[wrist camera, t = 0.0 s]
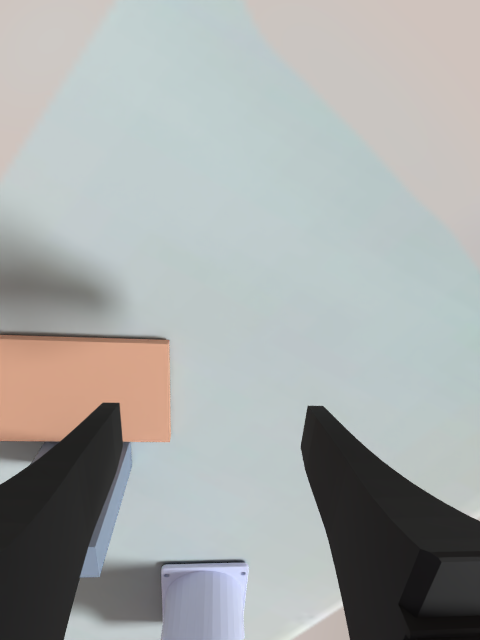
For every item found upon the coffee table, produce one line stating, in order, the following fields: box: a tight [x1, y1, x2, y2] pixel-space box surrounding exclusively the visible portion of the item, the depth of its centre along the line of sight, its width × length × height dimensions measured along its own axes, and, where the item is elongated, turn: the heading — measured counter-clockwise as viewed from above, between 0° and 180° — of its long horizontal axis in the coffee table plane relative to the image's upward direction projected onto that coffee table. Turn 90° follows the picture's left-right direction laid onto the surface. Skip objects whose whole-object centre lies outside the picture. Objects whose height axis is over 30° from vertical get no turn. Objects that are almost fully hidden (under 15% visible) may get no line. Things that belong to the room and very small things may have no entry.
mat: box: [0, 335, 171, 442], centre depth 23 cm, size 8×12×1 cm, turn 86°
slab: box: [30, 441, 132, 577], centre depth 22 cm, size 2×6×8 cm, turn 86°
